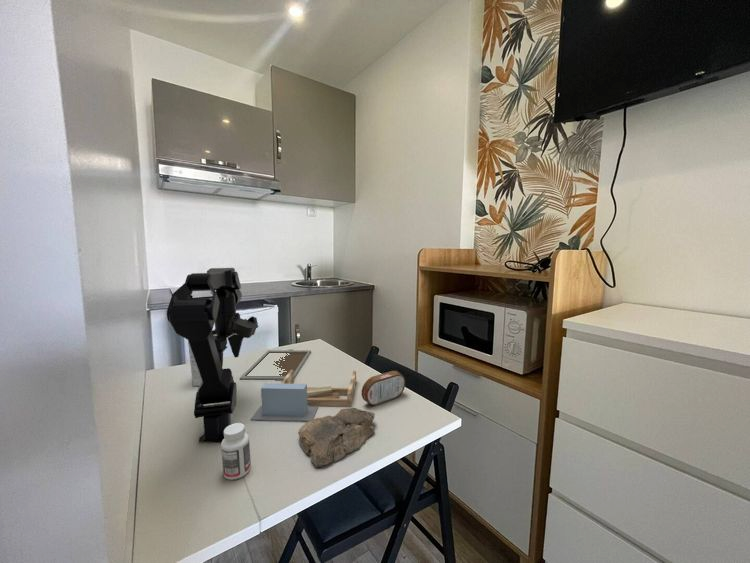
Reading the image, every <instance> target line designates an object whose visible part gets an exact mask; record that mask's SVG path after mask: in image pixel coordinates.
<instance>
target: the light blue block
mask: <svg viewBox="0 0 750 563" xmlns="http://www.w3.org/2000/svg"><path fill="white" fill-rule="evenodd" d="M307 387H308V383H292V384H282V383H281V382H280V383H279V382H278V383H276V382H275V383H274V382H270V383H269V382H267V383H266V382H265V383H264V384H263V385H262V386H261V388H260V396H261V398H260V399H261V405H262V415H269V416H305V415H306V413H307V411H308V403H307Z"/></svg>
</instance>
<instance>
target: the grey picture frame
mask: <svg viewBox="0 0 750 563" xmlns="http://www.w3.org/2000/svg"><path fill="white" fill-rule="evenodd" d="M269 353H286V354H287V353H289V354H290V355H288V354H287V355H288V356H287V355H286V356H285V357H284V358H285V359H283V357H282V358H281V357H280V358H281V359H282V360H280V359H279V361H280V362H279V361H276V362H275V361H274V362H275V363H276V364H277V365H279V366H277V365H275V364H273V365H275V366H277V367H279V368H281V370H282V369H285V370H283V371H287V372H283V373H282V374H279V375H280V376H247V375H248V374H249V373H250V372H251V371H252V370H253V369H254V368H255V367H256V366H257V365H258V364H259V363H260V362H261V361H262V360H263V359H264V358H265V357H266V356H267V355H268V354H269ZM311 354H312V350H306V349H305V350H300V349H299V350H298V349H297V350H294V349H288V350H284V349H283V350H282V349H281V350H276V349H275V350H272V349H271V350H270V349H269V350H267V351H266V352H264V354H262V356H261V357H260V358H259V359H258V360H256V362H254V363H253V364H252V365H251V366H250V367H249V368H248V369H247V370H246V371H245V372H244V373H243V374H242V375H241V376H240V377H239V381H240V380H275V381H274V382H282V381H283V379H284V378H285V377H286V375H287V374H288V373H289V372H290V370H294V380H295V379H296V377H297V376H298V374H299V373H300V371H301V369H302V368H303V366H304V365H305V363H306V361H307V360H308V359H309V357H310V355H311ZM283 360H285V361H283ZM278 363H280V364H278ZM281 366H282V367H281ZM277 369H278V368H277ZM279 372H281V371H279ZM281 375H282V376H281Z"/></svg>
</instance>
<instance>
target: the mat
mask: <svg viewBox="0 0 750 563" xmlns="http://www.w3.org/2000/svg"><path fill="white" fill-rule="evenodd" d="M318 409H319V406H308V411H307V413H306V415H305V416H269V415H262V404H261V405H260V406H259V407H258V408H257V410H256V411H255V412H254V414H253V415H252V416H251V418H250V420H261V421H260V422H289V421H297V422H296V423H299V422H298V421H300V423H306V422H308V421H310V420H312V419H315V417H316V413H317V411H318Z"/></svg>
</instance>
